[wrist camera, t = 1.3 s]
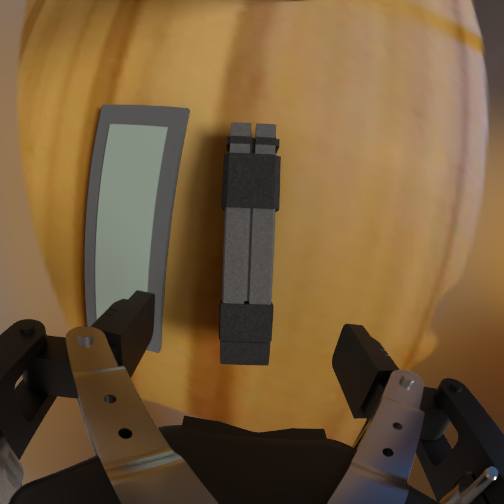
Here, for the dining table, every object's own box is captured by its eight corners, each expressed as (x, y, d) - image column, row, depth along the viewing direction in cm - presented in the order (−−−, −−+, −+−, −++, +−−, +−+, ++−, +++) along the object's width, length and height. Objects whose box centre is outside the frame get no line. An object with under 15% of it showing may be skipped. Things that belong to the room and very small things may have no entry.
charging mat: (106, 106, 24) (101, 104, 23) (189, 110, 24) (187, 107, 23) (91, 330, 30) (87, 334, 29) (161, 348, 30) (158, 353, 29)
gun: (223, 345, 30) (214, 375, 20) (230, 165, 32) (226, 120, 22) (265, 347, 30) (275, 377, 20) (270, 166, 32) (281, 122, 22)
